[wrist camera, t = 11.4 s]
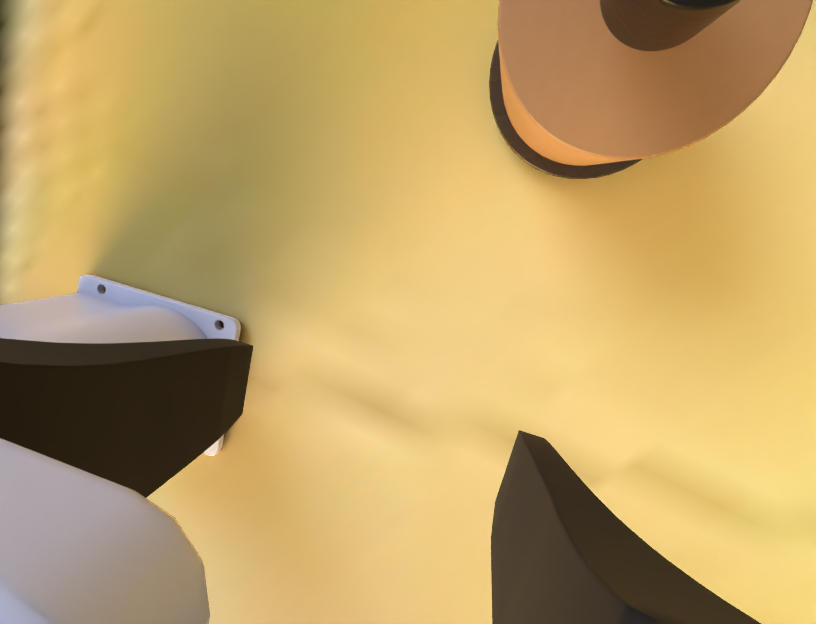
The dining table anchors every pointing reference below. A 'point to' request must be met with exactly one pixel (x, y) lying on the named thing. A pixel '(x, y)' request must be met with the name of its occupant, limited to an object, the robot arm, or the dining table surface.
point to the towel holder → (630, 75)
